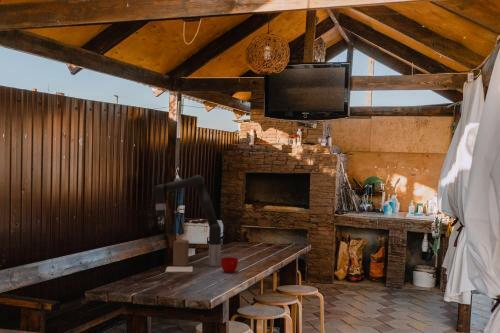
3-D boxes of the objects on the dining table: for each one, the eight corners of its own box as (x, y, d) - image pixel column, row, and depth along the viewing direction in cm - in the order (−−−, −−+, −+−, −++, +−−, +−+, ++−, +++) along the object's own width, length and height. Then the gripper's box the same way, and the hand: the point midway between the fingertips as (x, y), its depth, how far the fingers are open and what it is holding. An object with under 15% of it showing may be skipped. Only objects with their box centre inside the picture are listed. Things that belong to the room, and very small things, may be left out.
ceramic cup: (223, 274, 374) (224, 261, 374) (219, 270, 390) (219, 257, 390) (240, 274, 377) (241, 260, 377) (235, 270, 394) (235, 257, 394)
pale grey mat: (193, 267, 401) (193, 266, 401) (192, 272, 382) (192, 271, 382) (167, 267, 399) (167, 266, 399) (165, 272, 380) (165, 271, 380)
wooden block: (184, 267, 401) (185, 241, 402) (172, 266, 403) (173, 241, 404) (188, 265, 411) (189, 240, 411) (176, 264, 413) (177, 239, 413)
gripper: (163, 209, 403) (164, 230, 402) (167, 208, 417) (168, 228, 416) (153, 210, 403) (154, 230, 402) (158, 209, 417) (158, 229, 417)
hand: (161, 229), depth 409 cm, fingers open, 8 cm apart
